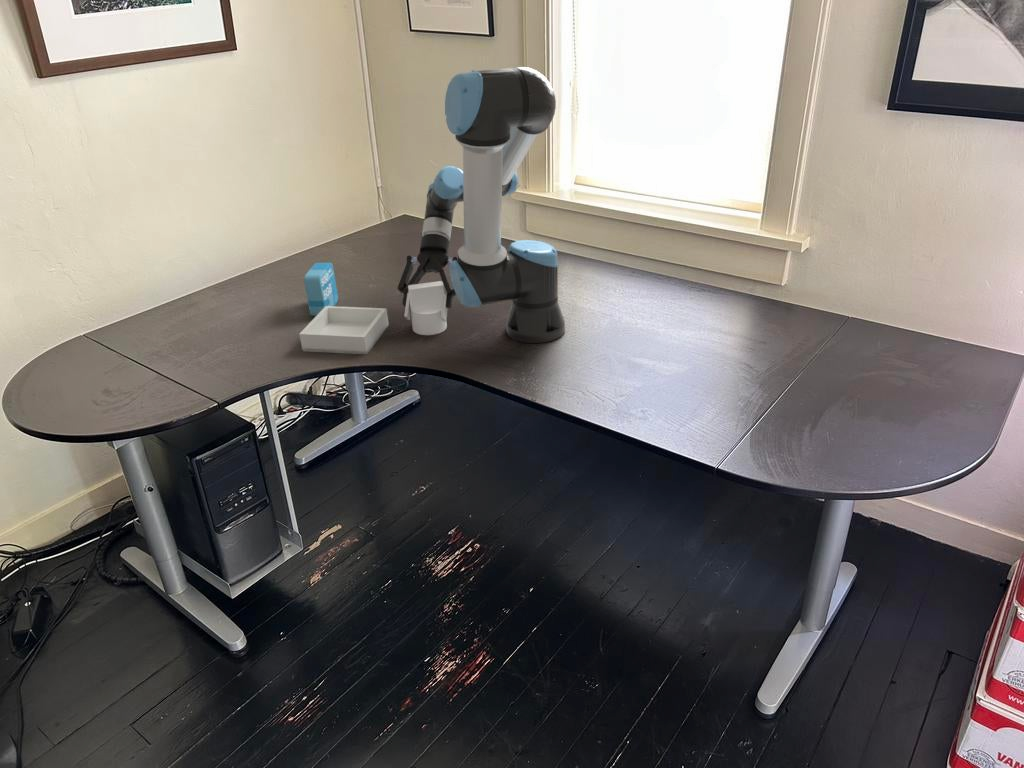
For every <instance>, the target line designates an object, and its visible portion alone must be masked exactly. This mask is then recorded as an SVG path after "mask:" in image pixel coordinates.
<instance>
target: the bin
mask: <svg viewBox="0 0 1024 768" xmlns="http://www.w3.org/2000/svg"><path fill="white" fill-rule="evenodd" d="M388 317H389V316H388V309H387V308H384V307H383V308H382V307H381V308H380V307H379V308H378V307H360V306H358V307H357V306H336V305H335V306H325V307H324V308H323V309H322V311H321V312H320V313H319V314H318V315H317V316H314V317H313V319H312V320H311V321H310V322H309V323H308V324H306V325H307V326H305V327H304V329H303V330H301V332H299V334H298V335H299V339H300V340H299V341H300V344H301V350H302V352H312V353H328V354H332V353H333V354H349V355H352V354H353V355H365V356H366V355H368V354H369V353H370V351H371V350H372V349H373V347H374V346H375V344H377V341H379V339H380V338H381V336H382V335H383V334H384V332H385V331H386V330H387V328H388V327H389V326H390V325H389V318H388Z"/></svg>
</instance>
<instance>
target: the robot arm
mask: <svg viewBox="0 0 1024 768" xmlns="http://www.w3.org/2000/svg"><path fill="white" fill-rule="evenodd" d="M444 98H445V99H444V115H445V117H446V118H445V122H446V125H447V129H449V132H450V133H451V134H452V135H455V141H456V142H457V143H458V144H459V145H460V146H462V169H461V168H459V167H457V166H454V165H453V166H452V165H448V166H445V167H443V168H441V169H440V170H439V171H438V173H437V174H436V176H435V178H434V179H433V182H431V183H430V184H429V185H428V188H427V189H428V190H427V194H426V204H425V213H424V218H423V225H422V233H421V236H422V237H421V238H420V245H419V253H418V254H417V256H411V255H407V256H406V265H405V267H404V269H403V272H402V274H401V278H400V281H399V282H398V285H397V290H398V291H399V293H400V294H403V297H402V305H403V306H404V307H405V308H404V315H403V317H404V318H405V319H406V321H407V320H408V321H411V309H410V300H409V291H408V285H414V284H420V281H421V280H422V278H423V277H424V276H425V275H426V274H429V273H435V274H439V277H440V280H441V281H442V282H443V288H444V290H445V291H446V293H444V296H443V303H442V311H441V319H442V320H443V321H445V322H447V317H448V309H450V310H451V309H452V306H453V300H454V297H455V296H456V297H457V299H458V301H459V302H460V304H461V305H462V306H464V307H466V308H476V307H479V308H481V307H483V306H487V305H492V304H497V303H502V302H505V301H506V302H507V301H511V306H510V309H509V313H508V316H507V320H506V324H505V326H506V327H505V328H506V329H505V330H506V334H507V336H508V337H509V338H510V339H512V340H514V341H517V342H521V343H527V344H543V343H548V342H552V341H555V340H557V339H559V338H561V337H562V336H564V334H565V331H566V323H565V319H564V318H565V317H564V316H563V313H562V310H561V308H560V304H559V265H560V264H559V260H558V251H557V250H556V248H555V247H554V246H553V245H552V244H549V243H547V242H544V241H539V240H533V239H520V240H515V241H513V242H511V243H510V244H509V247H508V249H509V251H508V250H507V249H506V247H505V246H503V245H502V206H503V205H502V204H503V202H502V201H503V200H502V199H503V197H504V196H506V195H507V196H508V195H510V194H511V195H512V194H514V193H515V192H516V191H517V189H518V184H519V179H518V174H517V171H518V169H519V168H520V166H521V164H522V162H523V160H524V159H525V157H526V156H527V154H528V152H529V151H530V149H531V147H532V146H533V144H534V142H535V141H536V139H537V137H538V136H539V135H540V134H543V133H544V132H546V131H547V130H548V128H549V126H550V125H551V123H552V121H553V119H554V117H555V113H556V107H557V106H556V104H557V103H556V102H557V101H556V95H555V91H554V89H553V87H552V85H551V83H550V81H549V80H548V79H547V78H546V77H545V76H544V75H543V74H542V73H540V72H539V71H537V70H536V69H533V68H530V67H527V66H515V67H508V68H497V69H484V70H481V69H480V70H476V69H474V70H471V71H467V72H462V73H458V74H457V73H456V74H455V75H454V76H453V77H452V78H451V79H450V82H449V83H448V85H447V88H446V92H445V97H444ZM458 203H463V244H462V245H461V246H460V247H459V248H458V250H457V256H453V257H450V256H449V253H450V252H449V251H450V244H451V242H450V240H451V235H452V234H451V233H452V229H453V228H452V227H453V218H454V213H455V208H456V206H457V205H458ZM417 262H418V263H419V265H418V266H417V269H416V271H415V273H414V274H413V275H412V273H413V271H414V266H416V264H417ZM448 263H449V265H448ZM446 265H448V267H449V268H448V269H449V277H450V280H451V283H452V287H453V289H452V287H451V285H450V282H449V280H448V276H447V275H446V272H445V269H444V268H445V267H446ZM411 276H412V277H411Z"/></svg>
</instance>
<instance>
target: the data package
mask: <svg viewBox="0 0 1024 768" xmlns="http://www.w3.org/2000/svg"><path fill="white" fill-rule="evenodd" d="M303 277H304V278H303V282H304V288H305V294H306V298H307V299H306V300H307V305H308V309H309V314H310V316H312V317H316V316H317V315H318V314H319V313H320V312H321V311H322V309H323V308H324V307H325V306H336V304H337V303H338V301H339V295H338V287H337V283H336V277H335V271H334V265H333V263H332V262H315V263H314V264H313V265H312V266H311V267H310V269H309V270H308V271H307V272H306V273H305V275H304V276H303Z"/></svg>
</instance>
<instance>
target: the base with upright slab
mask: <svg viewBox="0 0 1024 768" xmlns="http://www.w3.org/2000/svg"><path fill="white" fill-rule="evenodd" d="M408 291H409V300H410V309H411V316H410V318H411V325H412V331H413V332H414V333H416V334H418V335H421V336H434V335H437V334H441V333H442V332H445V330H447V328H448V324H447V321H446V322H445V321H443V320H442V319H441V311H442V303H443V296H444V294H445V287H444V284H443V281H442V280H438V281H437V280H436V281H429V282H424V283H423V282H422V283H418V284H414V285H408Z"/></svg>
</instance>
